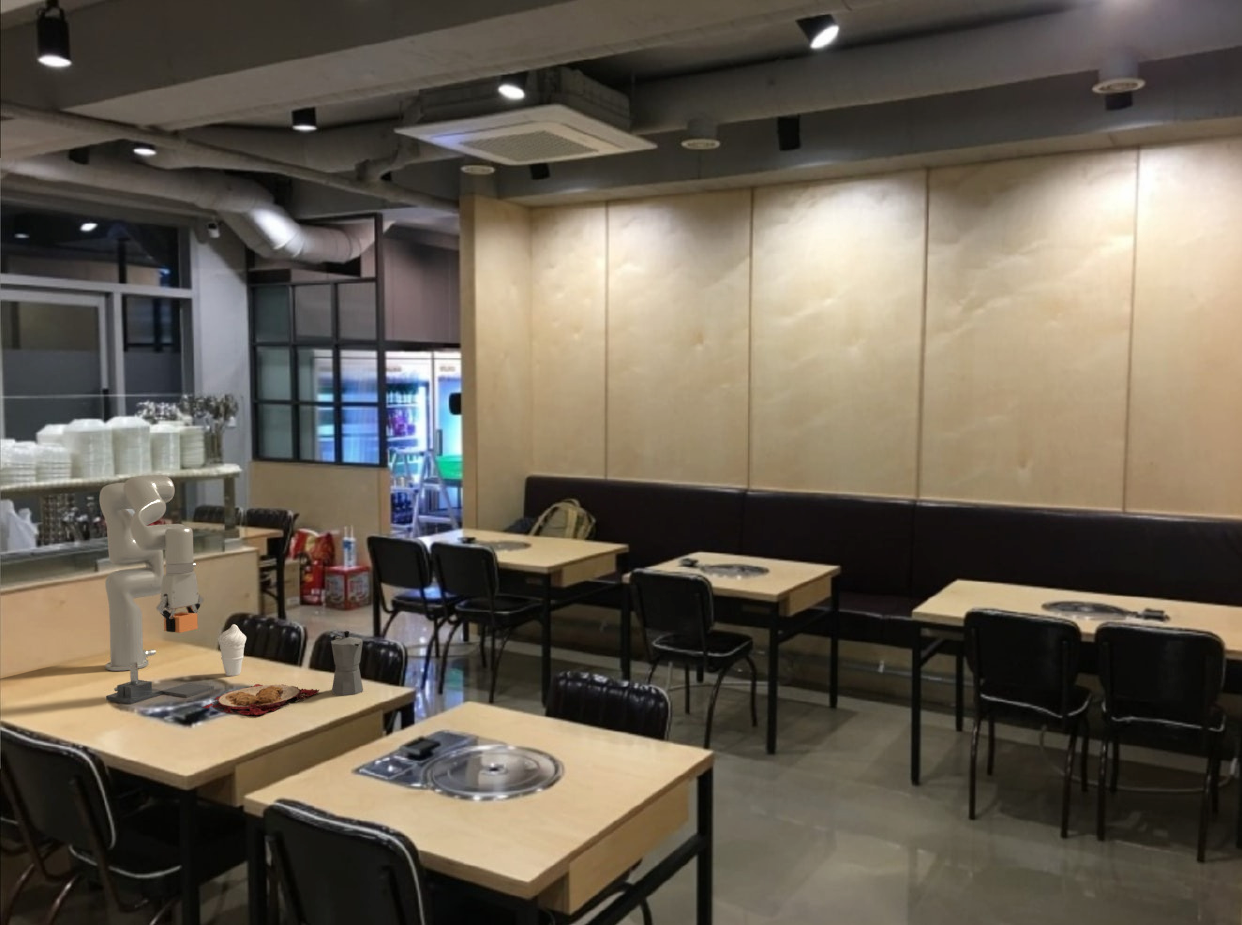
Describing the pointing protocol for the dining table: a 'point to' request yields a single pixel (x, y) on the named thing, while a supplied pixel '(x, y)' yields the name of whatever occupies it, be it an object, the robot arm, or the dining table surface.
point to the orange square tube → (184, 622)
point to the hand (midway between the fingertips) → (181, 628)
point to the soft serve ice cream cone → (232, 650)
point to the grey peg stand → (134, 689)
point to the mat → (187, 690)
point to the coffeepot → (347, 665)
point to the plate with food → (260, 698)
